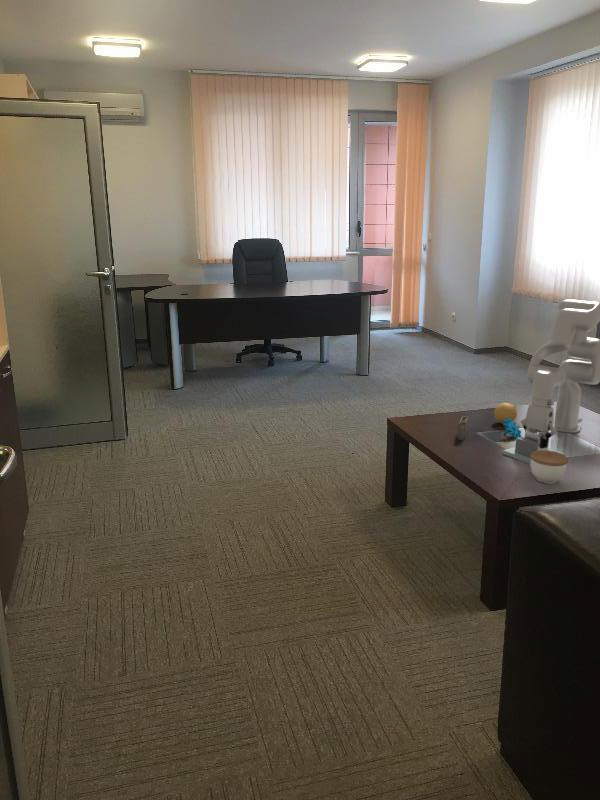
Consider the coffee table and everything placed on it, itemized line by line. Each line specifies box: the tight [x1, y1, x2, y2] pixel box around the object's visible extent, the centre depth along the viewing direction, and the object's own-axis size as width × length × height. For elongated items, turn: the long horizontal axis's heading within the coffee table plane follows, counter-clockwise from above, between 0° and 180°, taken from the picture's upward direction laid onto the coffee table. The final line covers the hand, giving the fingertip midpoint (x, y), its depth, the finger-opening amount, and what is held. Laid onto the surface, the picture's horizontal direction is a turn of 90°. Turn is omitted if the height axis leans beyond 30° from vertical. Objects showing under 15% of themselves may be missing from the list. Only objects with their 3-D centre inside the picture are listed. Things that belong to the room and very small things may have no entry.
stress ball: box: [493, 402, 518, 426], centre depth 296 cm, size 10×10×10 cm
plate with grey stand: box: [502, 436, 567, 465], centre depth 257 cm, size 18×16×8 cm
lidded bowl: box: [529, 450, 569, 484], centre depth 233 cm, size 13×13×11 cm
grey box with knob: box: [523, 429, 551, 451], centre depth 257 cm, size 7×6×8 cm
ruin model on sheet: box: [457, 415, 469, 441], centre depth 279 cm, size 11×3×10 cm, turn 159°
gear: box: [502, 418, 523, 439], centre depth 281 cm, size 11×6×10 cm
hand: (536, 444), depth 258 cm, fingers closed on grey box with knob, 6 cm apart
